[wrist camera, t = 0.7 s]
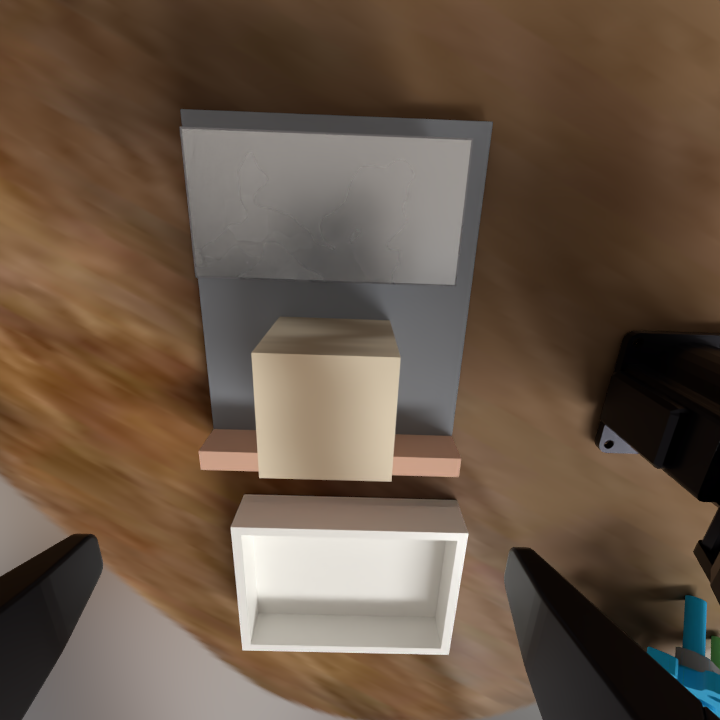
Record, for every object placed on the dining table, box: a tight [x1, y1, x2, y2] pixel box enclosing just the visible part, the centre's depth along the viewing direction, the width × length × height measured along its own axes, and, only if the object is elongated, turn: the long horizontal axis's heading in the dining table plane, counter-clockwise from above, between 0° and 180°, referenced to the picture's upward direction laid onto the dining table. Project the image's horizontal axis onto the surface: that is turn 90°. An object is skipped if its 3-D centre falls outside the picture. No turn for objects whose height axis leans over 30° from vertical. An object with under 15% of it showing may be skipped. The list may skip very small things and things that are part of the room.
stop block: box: [251, 317, 401, 482], centre depth 16 cm, size 5×5×5 cm
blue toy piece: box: [647, 595, 720, 718], centre depth 24 cm, size 11×6×10 cm
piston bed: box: [180, 109, 493, 477], centre depth 17 cm, size 12×15×3 cm
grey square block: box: [180, 127, 473, 287], centre depth 14 cm, size 8×4×5 cm, turn 88°
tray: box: [231, 494, 468, 655], centre depth 23 cm, size 12×9×2 cm
